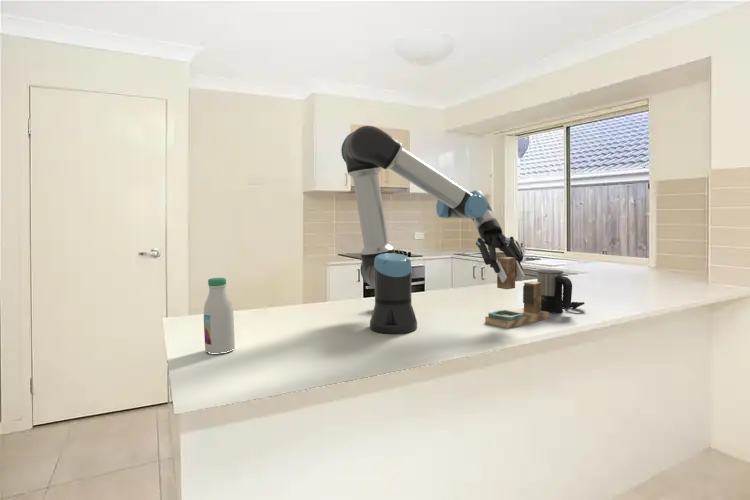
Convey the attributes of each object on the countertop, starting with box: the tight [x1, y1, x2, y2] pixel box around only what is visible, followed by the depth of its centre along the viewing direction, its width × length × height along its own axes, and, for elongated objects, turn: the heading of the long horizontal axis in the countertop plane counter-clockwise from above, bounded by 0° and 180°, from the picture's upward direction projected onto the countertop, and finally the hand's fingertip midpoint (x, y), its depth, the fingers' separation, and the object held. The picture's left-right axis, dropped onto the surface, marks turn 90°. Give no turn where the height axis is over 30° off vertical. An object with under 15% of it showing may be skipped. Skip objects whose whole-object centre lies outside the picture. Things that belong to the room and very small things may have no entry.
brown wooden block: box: [496, 256, 517, 290], centre depth 149 cm, size 5×4×10 cm
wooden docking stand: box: [484, 281, 550, 329], centre depth 153 cm, size 22×9×12 cm, turn 125°
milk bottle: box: [203, 277, 236, 353], centre depth 124 cm, size 8×8×20 cm
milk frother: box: [536, 269, 585, 314], centre depth 167 cm, size 14×16×15 cm
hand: (513, 279), depth 146 cm, fingers closed on brown wooden block, 6 cm apart
